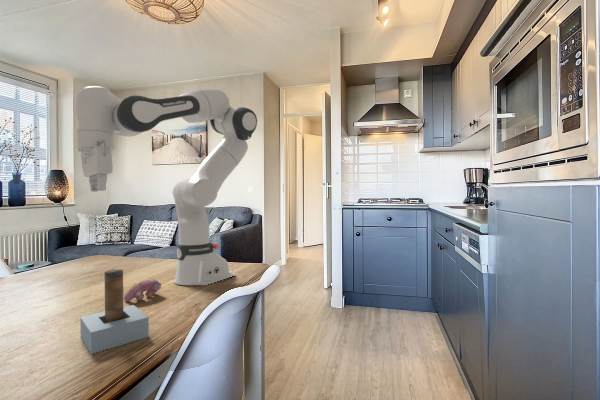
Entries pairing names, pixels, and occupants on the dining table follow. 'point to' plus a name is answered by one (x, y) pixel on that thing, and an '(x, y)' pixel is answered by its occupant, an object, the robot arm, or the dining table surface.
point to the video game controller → (142, 290)
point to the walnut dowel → (113, 295)
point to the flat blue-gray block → (113, 329)
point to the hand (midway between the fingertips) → (98, 191)
